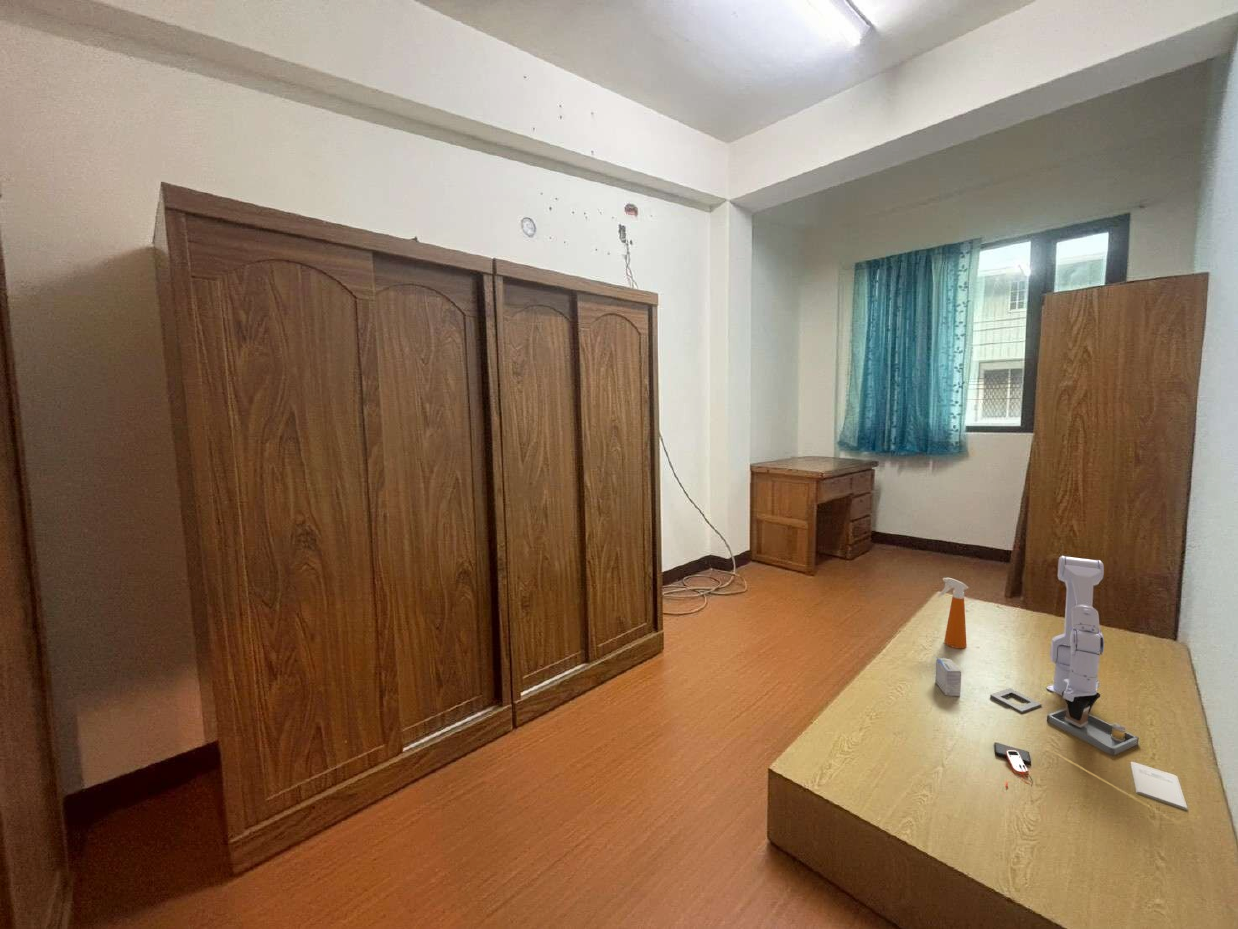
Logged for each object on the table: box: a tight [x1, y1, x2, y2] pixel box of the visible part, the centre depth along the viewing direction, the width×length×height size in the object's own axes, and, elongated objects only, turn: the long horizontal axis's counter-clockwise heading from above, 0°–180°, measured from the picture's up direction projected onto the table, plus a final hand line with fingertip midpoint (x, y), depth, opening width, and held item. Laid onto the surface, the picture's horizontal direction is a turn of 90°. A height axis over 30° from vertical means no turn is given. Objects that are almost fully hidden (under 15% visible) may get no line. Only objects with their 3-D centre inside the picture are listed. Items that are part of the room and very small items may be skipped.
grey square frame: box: [989, 687, 1043, 714], centre depth 154 cm, size 9×9×1 cm
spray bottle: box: [936, 576, 970, 649], centre depth 189 cm, size 7×11×26 cm, turn 82°
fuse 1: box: [1065, 705, 1090, 728], centre depth 143 cm, size 4×4×6 cm
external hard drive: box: [1130, 761, 1188, 811], centre depth 121 cm, size 2×8×12 cm
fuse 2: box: [1111, 722, 1127, 743], centre depth 137 cm, size 3×3×4 cm
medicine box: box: [934, 657, 962, 697], centre depth 162 cm, size 8×4×9 cm, turn 168°
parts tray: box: [1046, 707, 1139, 757], centre depth 140 cm, size 11×15×2 cm
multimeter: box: [993, 741, 1034, 789], centre depth 127 cm, size 18×12×3 cm, turn 142°
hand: (1078, 716), depth 142 cm, fingers closed on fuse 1, 3 cm apart
